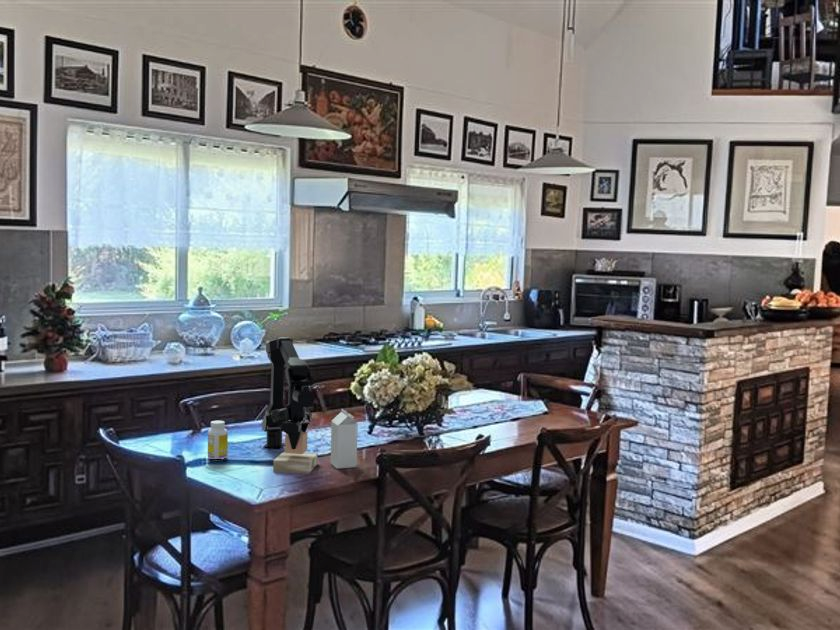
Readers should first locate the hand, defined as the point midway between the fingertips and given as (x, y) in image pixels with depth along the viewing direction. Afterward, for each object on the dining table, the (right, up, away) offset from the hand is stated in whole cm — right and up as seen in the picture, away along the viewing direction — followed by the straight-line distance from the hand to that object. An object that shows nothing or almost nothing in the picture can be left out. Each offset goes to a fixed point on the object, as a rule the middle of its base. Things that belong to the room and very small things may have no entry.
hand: (296, 446), depth 273 cm
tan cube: (0, -2, 0) cm, 2 cm away
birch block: (0, -8, +1) cm, 8 cm away
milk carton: (+15, -7, +5) cm, 18 cm away
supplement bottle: (-28, -6, +8) cm, 30 cm away
